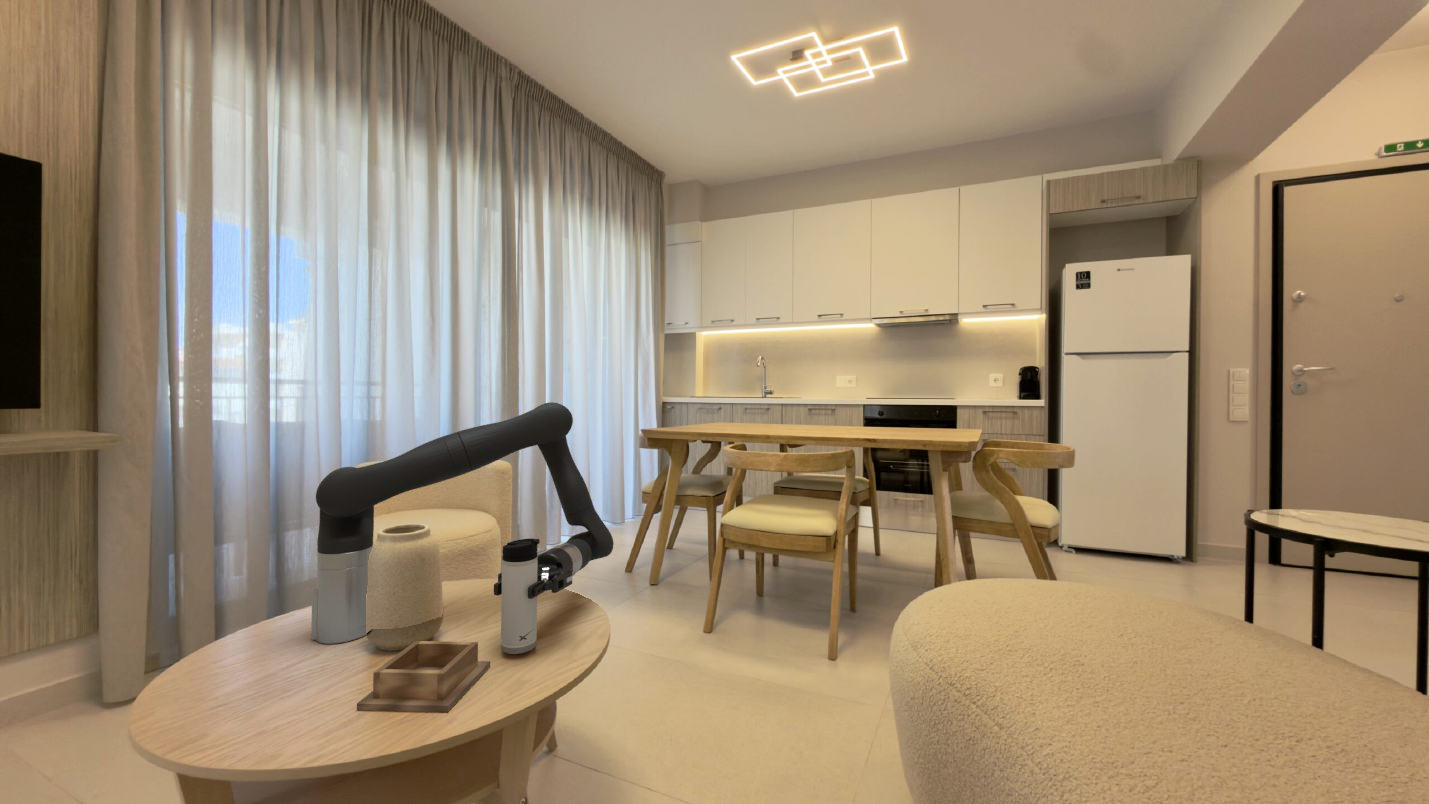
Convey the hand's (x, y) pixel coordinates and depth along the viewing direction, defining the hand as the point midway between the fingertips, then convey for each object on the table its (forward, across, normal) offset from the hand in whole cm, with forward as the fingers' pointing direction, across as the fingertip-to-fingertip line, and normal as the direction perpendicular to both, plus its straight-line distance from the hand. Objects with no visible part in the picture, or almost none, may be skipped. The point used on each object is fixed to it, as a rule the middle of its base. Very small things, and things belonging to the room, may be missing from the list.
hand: (512, 591), depth 98 cm
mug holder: (+12, -7, +12) cm, 19 cm away
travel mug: (-2, 0, +11) cm, 11 cm away
